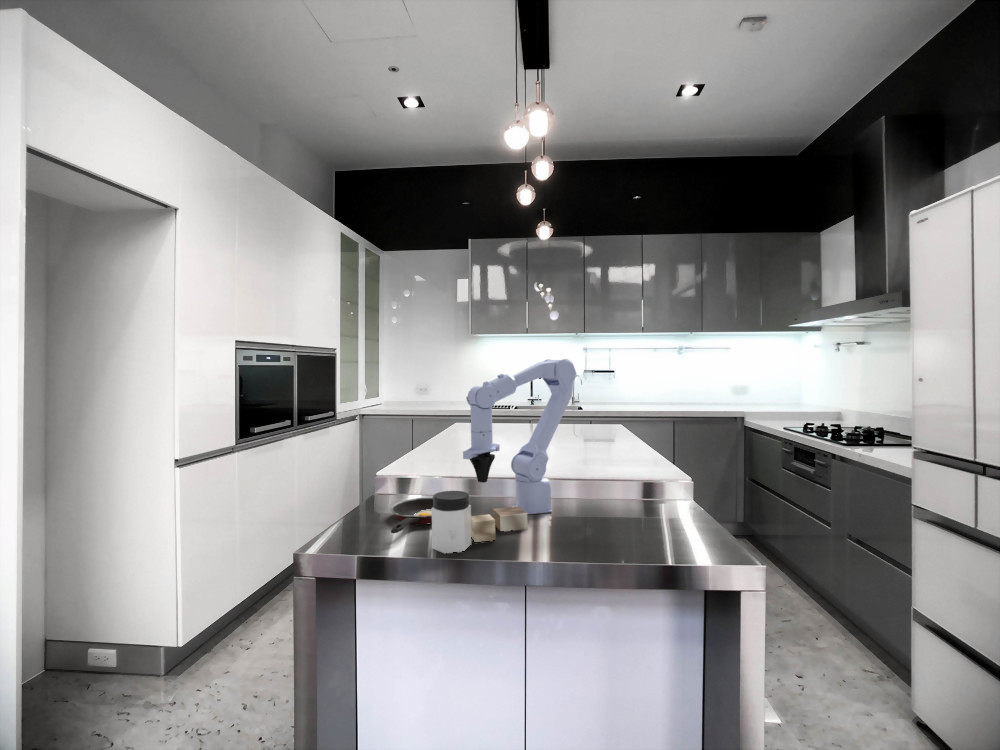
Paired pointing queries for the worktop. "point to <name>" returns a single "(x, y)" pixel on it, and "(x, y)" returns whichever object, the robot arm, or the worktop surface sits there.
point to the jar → (451, 521)
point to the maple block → (482, 528)
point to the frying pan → (412, 512)
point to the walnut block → (510, 518)
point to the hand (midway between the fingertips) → (482, 481)
